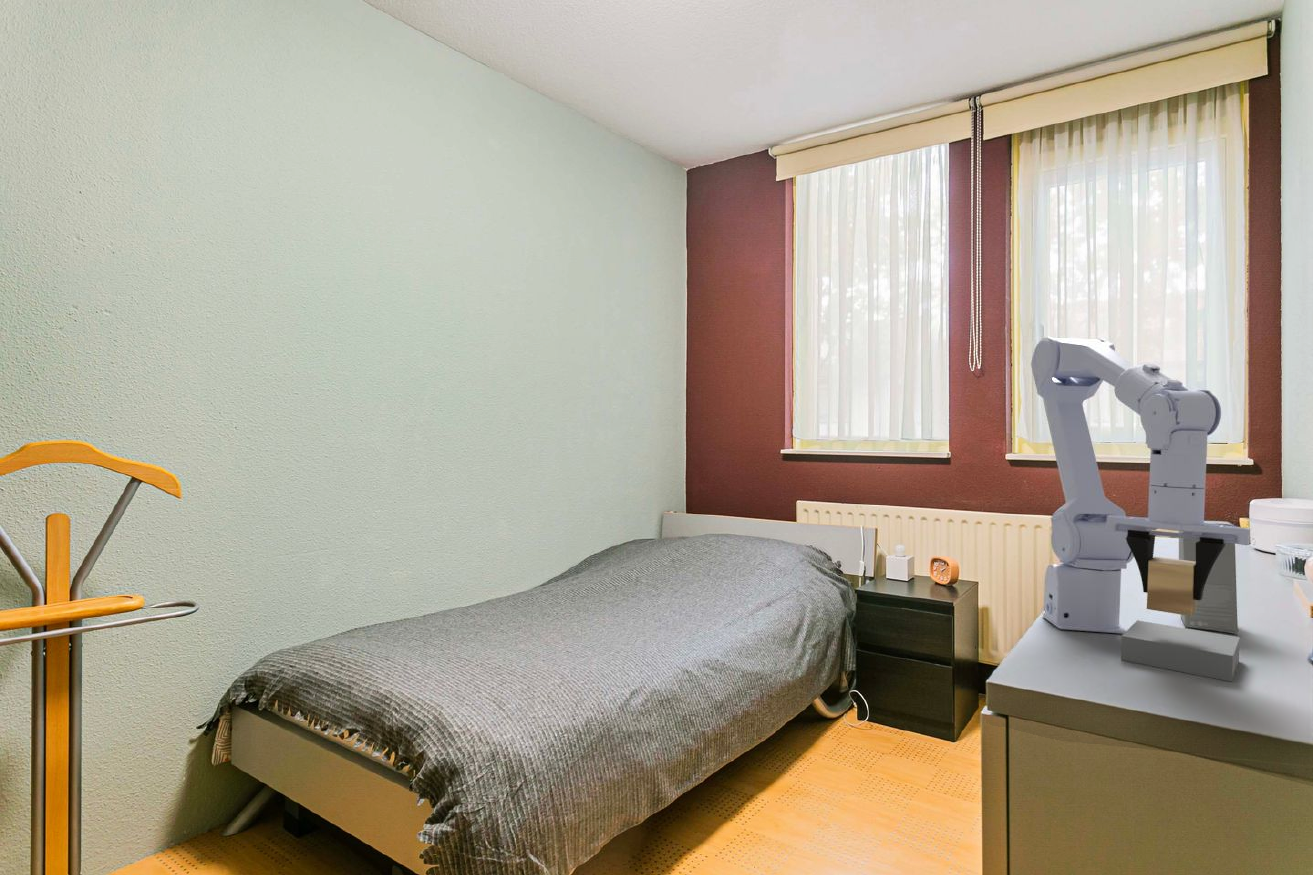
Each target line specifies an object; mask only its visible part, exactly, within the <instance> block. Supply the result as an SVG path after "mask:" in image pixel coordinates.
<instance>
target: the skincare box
mask: <svg viewBox="0 0 1313 875" xmlns="http://www.w3.org/2000/svg"><path fill="white" fill-rule="evenodd" d="M1204 523H1210V524H1218V525H1227V526H1236V525H1235V524H1232V523H1231V522H1229V521H1222V520H1221V521H1220V520H1217V521H1216V520H1204ZM1178 533H1182V534H1193V532H1187V531H1178ZM1193 535H1197V534H1193ZM1203 536H1204V535H1203ZM1199 541H1200V540H1198V539H1188V538H1178V560H1187V561H1195V562H1196V543H1197V542H1199ZM1236 565H1237V562H1236V543H1227V542H1225V546H1224V548H1223V550H1222V551H1221V553H1220V554H1219V556H1218V558H1217V559H1216V561H1215V563H1214V565H1213V567H1212V569H1211V571H1210V573H1209V575H1208V578H1207V580H1206V583H1205V586H1204V590H1203V596H1202V599H1201V600H1196V610H1195V612H1194V613H1193V614H1192V616H1187V615H1181V614H1180V619H1181V620H1182V622H1183V624H1184V626H1185V627H1187V628H1190V629H1201V630H1209V631H1217V632H1222V633H1228V634H1235V635H1236V634H1238V632H1239V626H1238V625H1239V623H1238V621H1239V620H1238V601H1237V600H1238V598H1237V597H1238V595H1237V567H1236Z"/></svg>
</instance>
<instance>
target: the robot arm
mask: <svg viewBox="0 0 1313 875" xmlns="http://www.w3.org/2000/svg"><path fill="white" fill-rule="evenodd" d="M1030 363H1031V364H1030V365H1031V366H1030V367H1031V370H1032V375H1033V379H1034V386H1035V388H1036V393H1037V395H1039V396H1040V397H1041V398H1042V399H1043V400H1042V401H1043V406H1044V411H1045V417H1046V421H1047V424H1048V428H1049V434H1050V436H1051V442H1052V447H1053V450H1054V456H1055V459H1056V465H1057V469H1058V472H1059V473H1058V474H1059V478H1060V482H1061V486H1062V491H1063V496H1064V501H1065V503H1064V504H1063V505H1062V506H1060V507H1059V508H1058V509H1057V510H1055V512H1053V514H1052V515H1051V517H1050V522H1051V534H1050V541H1051V547H1052V550H1053V552H1054V554H1055V556H1056V558H1057V559H1058V560H1059V563H1060V564H1055V563H1053V564H1052V563H1051V564H1049V565H1048V566H1047V567H1046V570H1045V573H1044V574H1045V575H1044V590H1043V592H1044V595H1043V613H1044V611H1045V613H1044V614H1043V613H1041V615H1042V614H1043V616H1042V617H1043V618H1044V619H1046V620H1047V621H1048V622H1050V623H1051V624H1053V626H1055V627H1056V628H1057V629H1060V630H1071V631H1084V632H1096V633H1097V632H1098V633H1109V634H1110V633H1112V634H1121V635H1123V634H1124V633H1125V632H1126V631H1127V630H1128V629H1129V628H1127V627H1126V626H1125V625H1124V626H1123V625H1122V624H1121V623H1120V611H1121V610H1120V609H1121V588H1122V586H1121V585H1122V584H1121V582H1122V569H1123V570H1126V569H1127V564H1128V563H1130V562H1132V561H1133V559H1134V561H1135V562H1136V565H1137V567H1138V571H1139V574H1140V575H1139V576H1140V578H1141V583H1142V592H1143V593H1146V594H1147V589H1148V563H1149V561H1150V560H1151V559H1152V558H1154V554H1155V553H1154V552H1155V543H1156V542H1155V541H1156V536H1158V537H1159V536H1160V537H1168V538H1169V537H1171V538H1178V539H1179V538H1188V539H1198V540H1200V541H1199V542H1197V543H1196V574H1195V582H1194V590H1193V600H1201V599H1202V596H1203V590H1204V586H1205V583H1206V580H1207V578H1208V575H1209V573H1210V571H1211V569H1212V567H1213V565H1214V563H1215V561H1216V559H1217V558H1218V556H1219V554H1220V553H1221V551H1222V550H1223V548H1224V546H1225V542H1227V543H1235V544H1237V545H1238V546H1239V545H1240V546H1249V545H1250V544H1251V542H1250V541H1251V527H1243V526H1236V525H1235V526H1227V525H1218V524H1210V523H1204V521H1205V505H1206V501H1205V500H1206V478H1207V476H1206V474H1207V456H1208V455H1207V454H1208V436H1210V435H1212V434H1213V433H1214V432H1215V431H1216V430H1217V428H1218V427H1219V425H1220V422H1221V418H1222V408H1221V403H1220V401H1219V400H1218V398H1217V397H1216V396H1215V395H1214V394H1213V393H1212V392H1211V391H1210V390H1208V389H1195V390H1188V389H1187V388H1186V387H1185V386H1184V385H1183V382H1181V381H1179V380H1178V379H1172V378H1170V377H1169V376H1167V375H1165V374H1164V373H1162V372H1160V370H1161V367H1160V366H1158V365H1157V364H1150V363H1149V364H1148V363H1147V364H1141V365H1140V364H1139V365H1135V366H1134V364H1131V363H1130V362H1129V361H1128V360H1127V359H1125V358H1124V357H1123V356H1121V355H1120V354H1119V353H1117V352H1116V349H1115V343H1112V342H1109V341H1108V340H1107V339H1104V338H1095V339H1088V338H1061V337H1060V338H1059V337H1058V338H1056V337H1055V338H1053V337H1050V336H1046V337H1043V338H1041V339H1040V340H1039V341H1038V343H1037V344H1036V346H1035V347H1034V350H1033V355H1032V358H1031V362H1030ZM1103 382H1106V383H1107V384H1109V385H1110V386H1112V387H1114V390H1113V391H1114V394H1115V397H1116V399H1117V400H1118V401H1119V402H1121V403H1123V405H1125V406H1127V407H1128V408H1129V409H1131V410H1132V411H1133V412H1134V413H1136V414H1138V416H1140V423H1141V426H1142V428H1143V430H1144V431H1145V432H1144V433H1145V444H1146V445H1147V446H1146V448H1147V449H1150V458H1149V459H1150V460H1149V461H1150V462H1149V482H1148V486H1149V487H1148V509H1147V517H1138V516H1127V514H1126V512H1125V510H1124V509H1122V508H1121V507H1120V506H1118V505H1117V504H1115V503H1113V501H1111V500H1110V499H1108V498H1107V497H1106V494H1105V491H1104V487H1103V483H1102V477H1101V474H1100V471H1099V466H1098V463H1097V458H1096V454H1095V449H1094V447H1093V442H1092V439H1091V434H1090V430H1089V426H1088V422H1087V418H1086V415H1085V414H1086V413H1085V409H1084V405H1083V404H1084V401H1086V400H1089V399H1090V398H1092V397H1094V396H1096V393H1097V391H1098V390H1099V388H1100V387H1101V385H1102V383H1103ZM1160 530H1167V531H1160ZM1171 531H1172V532H1171ZM1173 531H1174V532H1173ZM1175 531H1176V532H1175ZM1179 531H1187V532H1193V534H1197V535H1193V534H1182V533H1179ZM1203 535H1204V536H1203Z"/></svg>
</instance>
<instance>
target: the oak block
mask: <svg viewBox="0 0 1313 875" xmlns="http://www.w3.org/2000/svg"><path fill="white" fill-rule="evenodd" d="M1195 574H1196V562H1195V561H1187V560H1179V558H1178V559H1177V558H1169V557H1163V556H1162V557H1160V556H1153V558H1152V559H1151V560H1150V561H1149V563H1148V589H1147V593H1146V610H1151V611H1157V612H1163V613H1168V614H1169V613H1170V614H1173V615H1174V614H1175V615H1180V616H1181V615H1187V616H1192V614H1193V613H1194V612H1195V610H1196V600H1193V590H1194V582H1195Z"/></svg>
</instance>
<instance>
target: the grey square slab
mask: <svg viewBox="0 0 1313 875" xmlns="http://www.w3.org/2000/svg"><path fill="white" fill-rule="evenodd" d="M1127 629H1128V630H1127V631H1126V632H1125V633H1124V634H1121V647H1120V649H1121V651H1120V660H1121V661H1126V662H1130V663H1134V664H1135V663H1136V664H1140V665H1144V666H1145V665H1146V666H1150V667H1151V666H1152V667H1156V668H1161V669H1166V670H1171V671H1175V672H1181V673H1184V674H1185V673H1186V674H1191V675H1196V676H1199V677H1200V676H1201V677H1206V678H1211V679H1214V680H1215V679H1216V680H1221V681H1225V682H1233V680H1234V676H1235V673H1236V671H1237V668H1238V666H1239V661H1240V645H1241V644H1240V643H1241V637H1240V636H1234V635H1230V634H1229V635H1228V634H1223V633H1215V632H1210V631H1203V630H1197V629H1194V628H1188V627H1187V628H1185V627H1179V626H1175V625H1168V624H1161V623H1157V622H1156V623H1155V622H1149V621H1143V620H1138V619H1137V620H1136V621H1135V622H1134V623H1133V624H1132V625H1131V626H1130V627H1129V628H1127Z"/></svg>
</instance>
